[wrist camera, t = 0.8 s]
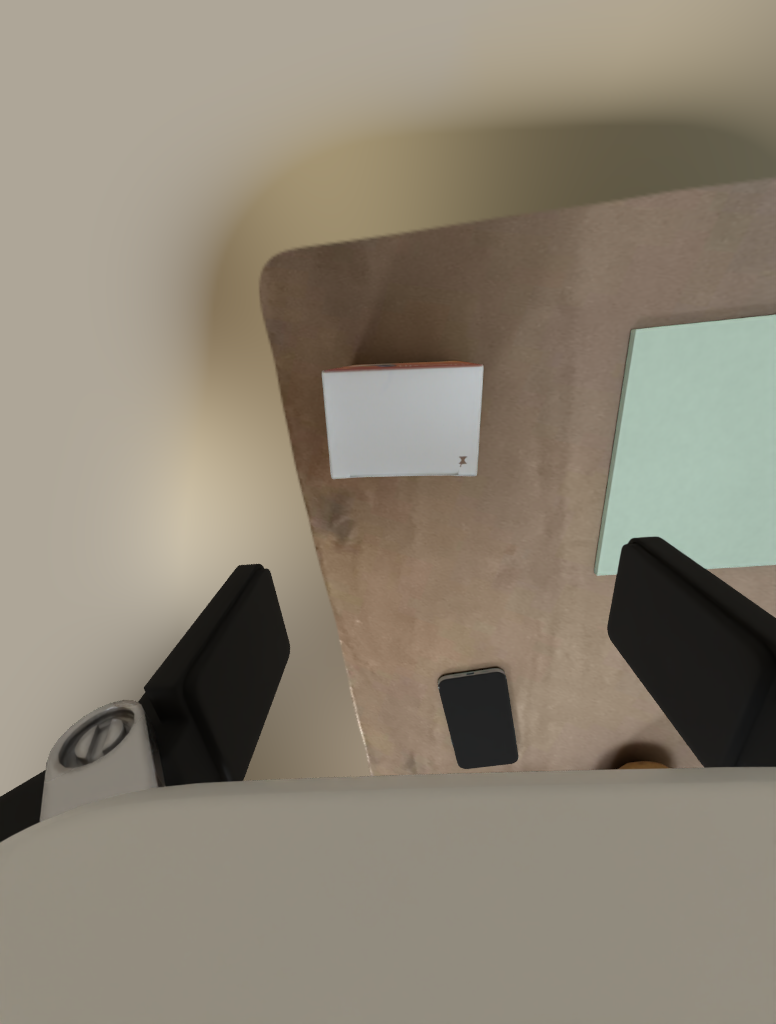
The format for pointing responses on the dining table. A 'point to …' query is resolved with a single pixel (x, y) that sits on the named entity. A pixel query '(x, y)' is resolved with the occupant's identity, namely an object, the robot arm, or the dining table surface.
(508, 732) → the smartphone
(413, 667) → the dining table surface
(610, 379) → the dining table surface
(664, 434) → the mat
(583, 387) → the dining table surface
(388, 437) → the small box
